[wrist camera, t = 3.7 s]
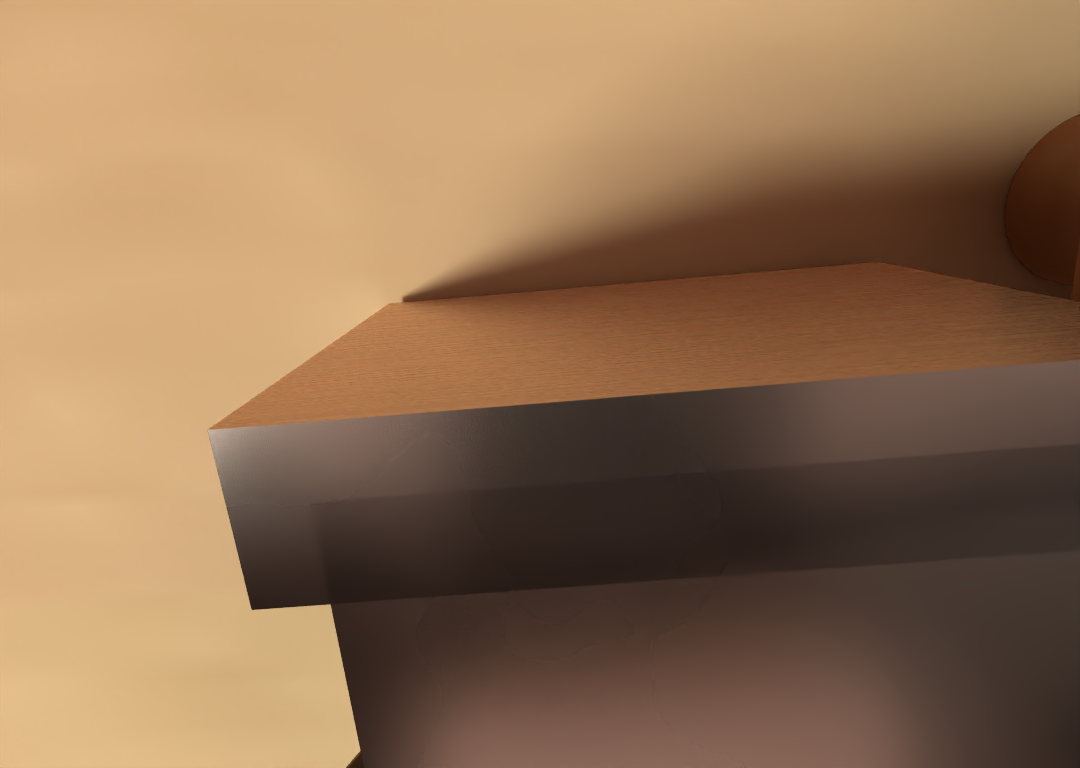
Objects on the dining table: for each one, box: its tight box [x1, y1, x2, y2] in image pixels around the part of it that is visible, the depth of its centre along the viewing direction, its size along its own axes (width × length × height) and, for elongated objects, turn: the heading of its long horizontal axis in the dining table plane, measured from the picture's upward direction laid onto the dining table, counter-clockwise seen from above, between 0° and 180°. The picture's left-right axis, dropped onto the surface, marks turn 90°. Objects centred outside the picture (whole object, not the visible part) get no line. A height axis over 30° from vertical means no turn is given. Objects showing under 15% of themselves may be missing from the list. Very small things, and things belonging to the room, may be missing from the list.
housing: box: [208, 262, 1080, 768], centre depth 7 cm, size 10×6×4 cm, turn 5°
